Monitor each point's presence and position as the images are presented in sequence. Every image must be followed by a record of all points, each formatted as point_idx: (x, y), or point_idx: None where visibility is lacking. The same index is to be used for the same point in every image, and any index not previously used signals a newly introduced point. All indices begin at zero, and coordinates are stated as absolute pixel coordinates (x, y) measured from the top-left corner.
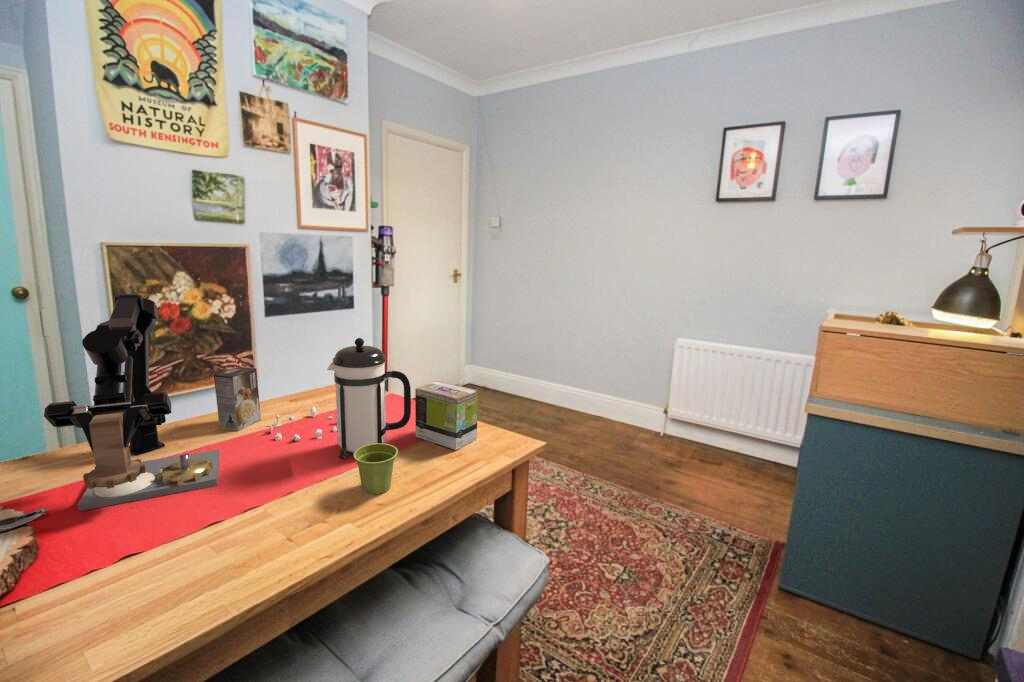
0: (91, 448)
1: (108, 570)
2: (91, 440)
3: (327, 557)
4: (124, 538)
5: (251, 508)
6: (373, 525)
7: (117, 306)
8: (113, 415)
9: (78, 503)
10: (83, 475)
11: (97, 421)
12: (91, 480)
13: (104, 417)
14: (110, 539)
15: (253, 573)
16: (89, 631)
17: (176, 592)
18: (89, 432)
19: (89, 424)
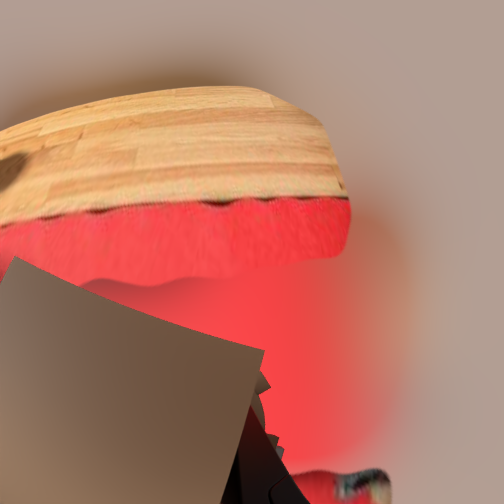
0: (250, 405)
1: (247, 188)
2: (246, 431)
3: (88, 106)
4: (214, 258)
5: (49, 218)
6: (36, 125)
7: None
8: (5, 462)
9: (282, 453)
10: (277, 441)
11: (159, 381)
12: (257, 379)
13: (76, 482)
14: (235, 271)
15: (136, 111)
16: (270, 120)
17: (197, 120)
18: (254, 467)
19: (257, 351)
